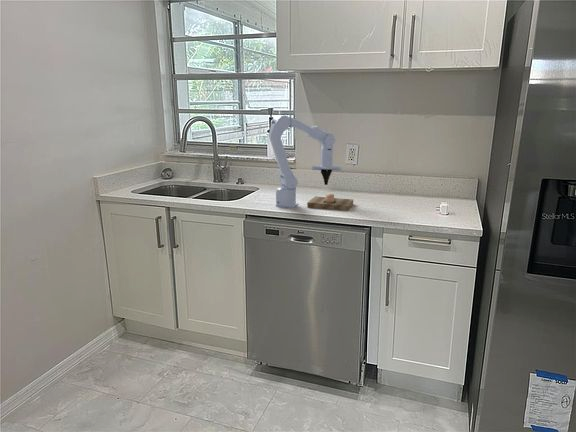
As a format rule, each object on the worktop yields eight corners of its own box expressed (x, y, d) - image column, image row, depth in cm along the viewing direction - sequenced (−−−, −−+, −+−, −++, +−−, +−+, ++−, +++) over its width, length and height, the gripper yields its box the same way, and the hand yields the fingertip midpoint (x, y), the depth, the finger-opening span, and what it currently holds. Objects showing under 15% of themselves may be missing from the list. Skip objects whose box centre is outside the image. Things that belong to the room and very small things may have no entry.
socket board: (307, 207, 208) (307, 202, 207) (314, 201, 221) (314, 196, 220) (347, 210, 202) (348, 205, 201) (353, 204, 214) (353, 199, 214)
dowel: (324, 207, 208) (324, 195, 206) (326, 205, 212) (326, 193, 210) (332, 208, 207) (333, 196, 205) (334, 206, 210) (335, 194, 209)
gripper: (311, 158, 209) (310, 185, 213) (340, 159, 206) (339, 186, 210) (313, 156, 216) (312, 182, 220) (342, 157, 213) (341, 183, 217)
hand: (326, 184), depth 215 cm, fingers closed
